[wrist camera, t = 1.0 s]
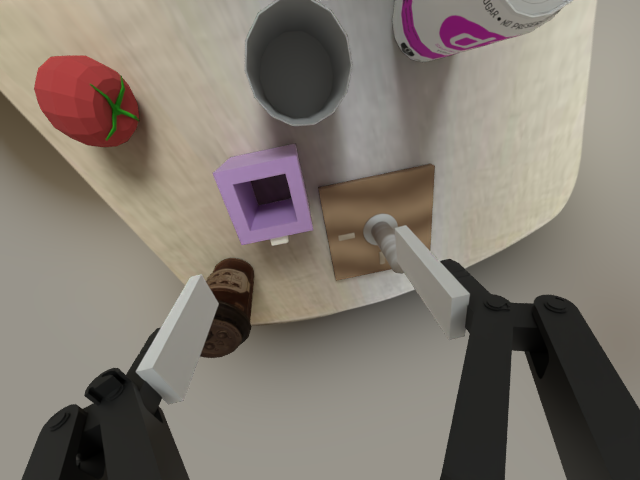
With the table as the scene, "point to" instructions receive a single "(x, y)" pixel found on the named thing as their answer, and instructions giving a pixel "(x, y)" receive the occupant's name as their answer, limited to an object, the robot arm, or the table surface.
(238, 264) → the coffee cup
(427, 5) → the supplement can
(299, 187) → the purple planter box
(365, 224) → the post board
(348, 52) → the cup
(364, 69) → the table surface
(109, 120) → the tomato
